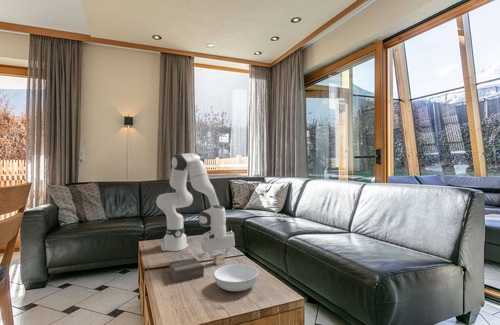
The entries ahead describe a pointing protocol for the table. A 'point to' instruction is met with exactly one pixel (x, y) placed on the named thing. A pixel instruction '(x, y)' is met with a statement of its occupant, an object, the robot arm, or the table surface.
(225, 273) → the serving bowl
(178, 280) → the charcoal riser block
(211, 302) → the table surface
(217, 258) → the birch cube
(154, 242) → the table surface
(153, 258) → the table surface
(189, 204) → the robot arm
